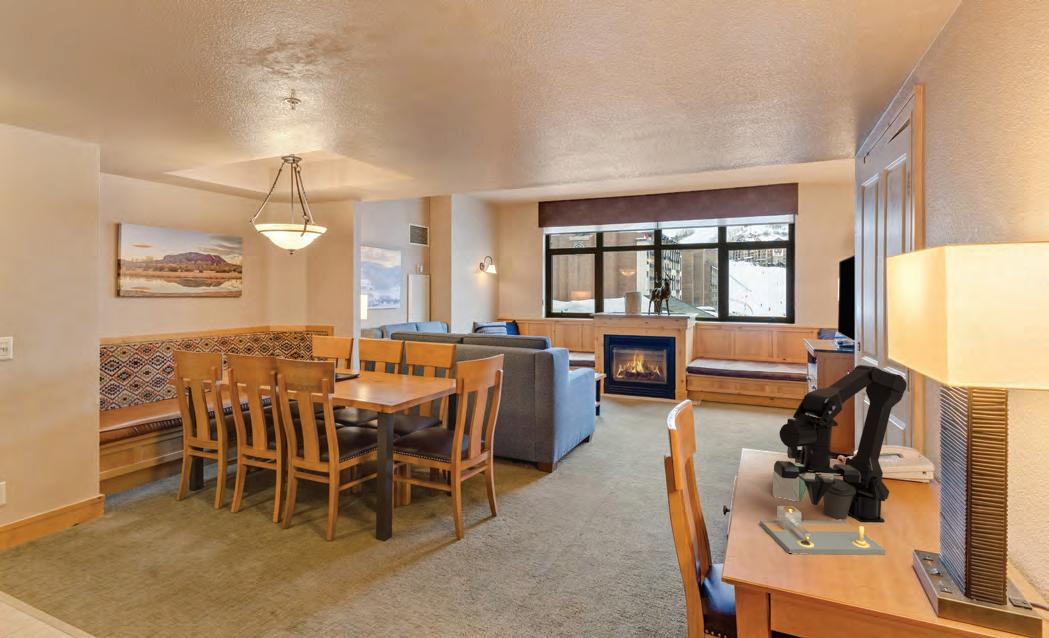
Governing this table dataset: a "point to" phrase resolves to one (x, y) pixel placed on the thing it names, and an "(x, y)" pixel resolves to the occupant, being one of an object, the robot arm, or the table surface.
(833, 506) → the coffee cup
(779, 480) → the box
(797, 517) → the white block with bar
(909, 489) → the table surface
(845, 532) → the jig plate
